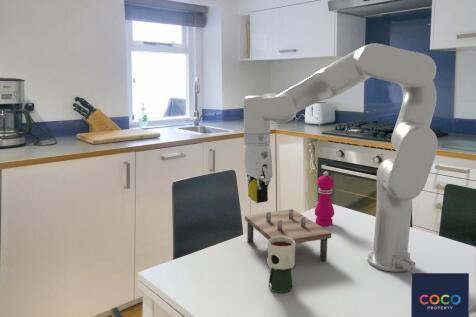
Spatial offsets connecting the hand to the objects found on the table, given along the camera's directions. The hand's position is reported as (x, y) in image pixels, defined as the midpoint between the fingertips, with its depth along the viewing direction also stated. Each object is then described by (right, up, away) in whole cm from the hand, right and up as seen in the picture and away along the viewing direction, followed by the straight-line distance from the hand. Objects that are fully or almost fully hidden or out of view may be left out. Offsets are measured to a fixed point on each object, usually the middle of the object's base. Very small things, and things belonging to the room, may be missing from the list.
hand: (257, 198), depth 126 cm
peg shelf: (+9, -17, +9) cm, 21 cm away
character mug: (+5, -22, -15) cm, 27 cm away
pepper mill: (+26, -13, +33) cm, 44 cm away
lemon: (0, -2, 0) cm, 2 cm away
